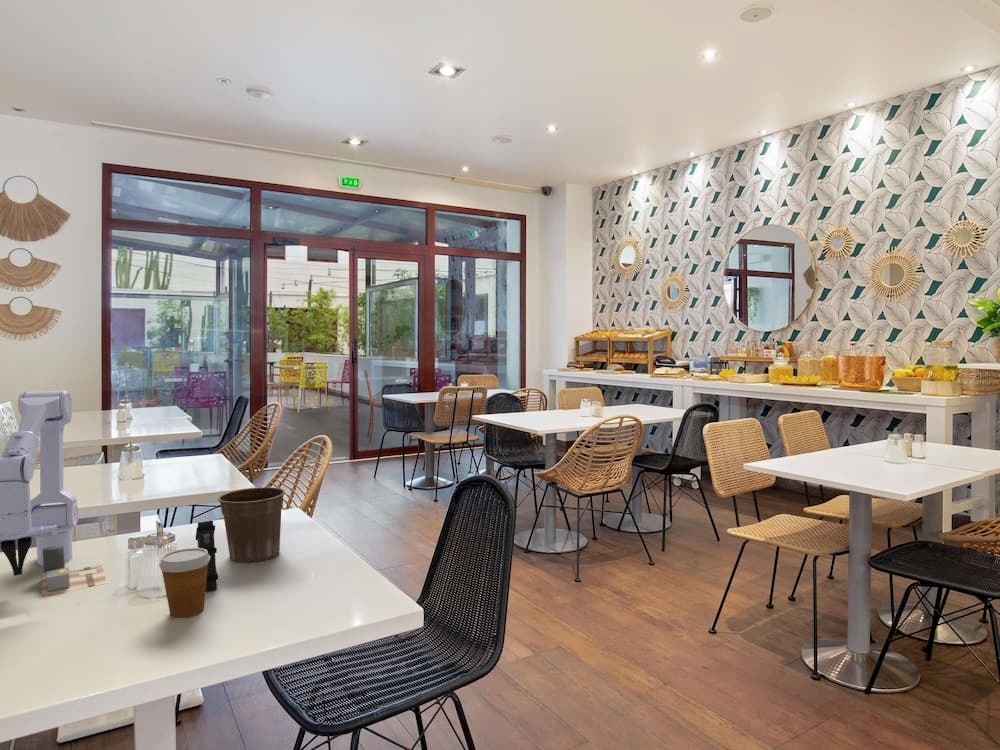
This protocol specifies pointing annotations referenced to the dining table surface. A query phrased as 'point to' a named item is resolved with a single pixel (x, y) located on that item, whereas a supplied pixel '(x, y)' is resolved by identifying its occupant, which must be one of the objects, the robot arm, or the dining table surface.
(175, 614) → the disposable coffee cup
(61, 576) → the block
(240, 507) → the plant pot
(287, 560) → the dining table surface
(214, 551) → the black stepped upright piece
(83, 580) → the plank
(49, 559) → the dark grey piece
